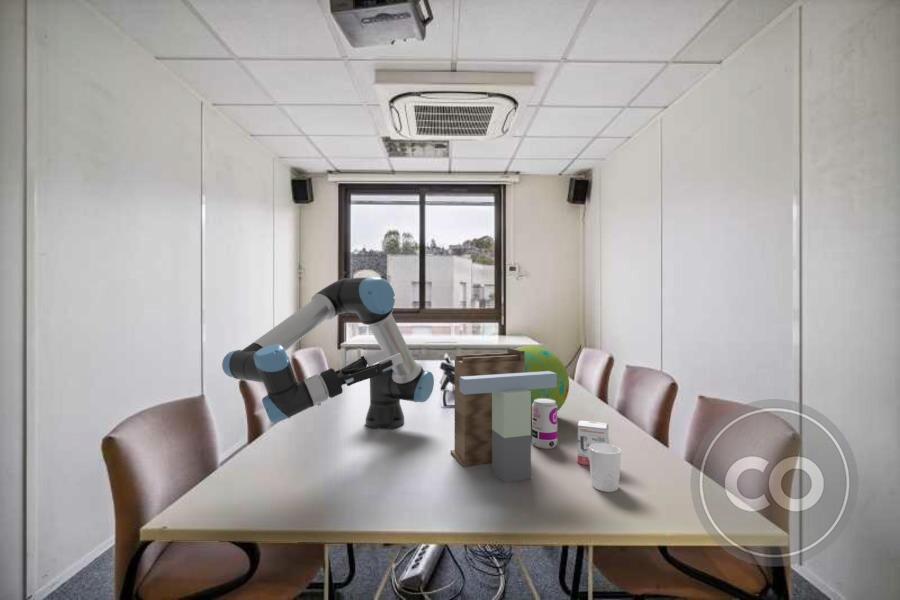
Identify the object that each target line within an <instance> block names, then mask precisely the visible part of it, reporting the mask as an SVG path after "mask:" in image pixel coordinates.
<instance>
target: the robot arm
mask: <svg viewBox="0 0 900 600" xmlns="http://www.w3.org/2000/svg"><path fill="white" fill-rule="evenodd" d="M395 301H396V299H395V291H394V289H393V286H392V285H391V283H390V282H389V281H387V280H386V279H385V278H382V277H375V276H367V277H353V278H351V277H346V278H342V279H338V280H336V281H334V282H332V283H331V284H329V285H326V287H324V288H322V289H321V290H320V291H318V292H316V293H315V294H314V295H313V296H312V297H311V299H310V301H309V302H308V303H307V304H305V305H304V306H302V307H300V308H299V310H297V311H295V312H293V313H292V314H291V315H289V316H288V317H287V318H285V319H284V320H283V321H281V322H280V323H279V324H278V325H275V326H274V327H273V328H272V329H270V330H269V331H266V333H264V334H263V335H262V336H260V337H259V338H257V339H256V340H255V341H253V342H252V343H251V344H249V345H247V346H246V347H245V348H243V349H236V350H232V351H229V352H228V353H226V355H225V356H224V357H223V359H222V362H221V368H222V370H223V373H224V374H225V375H226V376H228V377H230V378H233V379H235V380H245V381H252V382H257V383H263V386H264V389H265V391H266V392H267V394H266V395H265V396H263V397H262V399H261V402H262V405H263V407H264V410H265V412H266V416H267V418H268V419H269V422H271V423H272V424H276V423H278V422H280V423H281V422H282V421H285V420H287V419H290V418H291V417H293V416H295V415H298V414H300V413H302V412H303V411H306V410H308V409H310V408H312V407H314V406H321V405H322V403H323V402H326V401H328V400H329V399H328V398H330V399H332V398H335V397H338V396H339V395H341V394H343V391H344V390H343V387H342V386H344V385H347V387H351V386H352V385H355V384H356V383H360V382H363V381H365V380H369V407H368V410H367V413H366V417H365V425H366V427H369V428H372V429H378V430H381V429H393V428H399V427H401V426H402V425H404V423H405V415H404V411H403V409H402V405H401V400H402V401H407V402H414V403H425V402H427V401H428V400H429V399H430V397H431V395H432V393H433V390H434V385H435V379H434V374H433V373H432V372H431V371H429V370H424V369H423V366H422V364H421V363H420V362H419V360H415V359H414V358H413V355H412V352H411V351H410V349H409V347H408V345H407V342H406V341H405V339H404V337H403V335H402V333H401V331H400V329H399V327H398V324H397V322H396V320H395V318H394V316H393V314H392V313H393V312H394V306H395V303H396V302H395ZM346 313H348V314H357V316H358V318H359V320H360V321H361V323H362V324H363V325H366V326H368V327H369V329H370V331H371V333H372V335H373V336H374V338H375V340H376V342H377V344H378V345H379V348H380V351H378V352H376V353H373V354H371V355H369V356H366V357H365V356H364V355H363V356H360V358H358V359H357V360H355V361H352V362H351V363H350V364H347V365H345V366H344V367H342V368H341V369H338V370H335V369H334V368H328V369H326V370H324V371H322V372H320V374H318V373H317V374H315V375H311V376H309V377H307V378H305V379H303V380H301V381H297V380H298V379H297V378H296V376H295V372H294V370H293V366H292V364H291V361H290V358H289V356H288V354H287V352H286V351H288V350H289V349H290V348H292V347H293V346H294V345H295V344H297V343H298V342H299V341H300V340H302V339H303V338H304V337H305V336H307V335H308V334H309V333H311V332H312V331H313V330H315V328H317V327H318V326H320V325H321V324H322V323H323V322H325V321H326V320H327V321H328V320H329V321H330V320H332V319H333V318H335V317H336V316H339V315H341V314H346Z"/></svg>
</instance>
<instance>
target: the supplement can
mask: <svg viewBox="0 0 900 600" xmlns="http://www.w3.org/2000/svg"><path fill="white" fill-rule="evenodd" d="M531 444H533V445H534V446H535V447H536V448H538V449H543V450H544V449H545V450H551V449H555V448H556V447H557V445H558V411H557V404H556V402H555V400H553V399H548V398H538V399H535V400H534V402H533V404H532V421H531Z"/></svg>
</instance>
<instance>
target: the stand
mask: <svg viewBox="0 0 900 600" xmlns="http://www.w3.org/2000/svg"><path fill="white" fill-rule="evenodd" d="M506 350H507V352H497V353H496V352H494V353H493V352H492V353H491V352H490V353H476V354H475V353H473V354H455V355H454V357H455V359H454V449H451V450H450V454H451V455H452V457H453V458H454V459H455V460H456V461H457V462H458V464H459V465H460V464H461V467H470V466H479V465H486V464H490V463H491V464H492V393H479V394H466V395H464V394H463V393H461V392H460V391H459V377H464V376H479V375H495V374H511V373H525V351H523V350H519V349H516V348H515V347H507V349H506ZM478 464H479V465H478ZM469 465H470V466H469Z"/></svg>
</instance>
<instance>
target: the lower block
mask: <svg viewBox="0 0 900 600" xmlns="http://www.w3.org/2000/svg"><path fill="white" fill-rule="evenodd" d="M531 453H532V434H531V435H527V436H518V437H510V438H503V437H502V436H501V435H499V434H498V433H497V432H495V431H494V430H492V463H491V471H493V472H492V473H494V475H495V476H497V477H498V479H500V480H501V481H502V483H504V484H505V483H506V482H507V483H512V482H518V481H526V480H531V479H532V454H531Z"/></svg>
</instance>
